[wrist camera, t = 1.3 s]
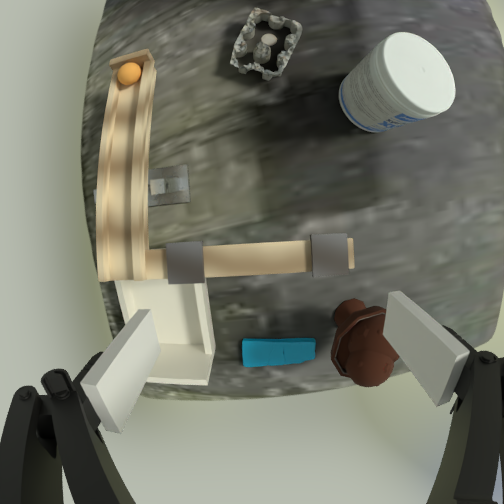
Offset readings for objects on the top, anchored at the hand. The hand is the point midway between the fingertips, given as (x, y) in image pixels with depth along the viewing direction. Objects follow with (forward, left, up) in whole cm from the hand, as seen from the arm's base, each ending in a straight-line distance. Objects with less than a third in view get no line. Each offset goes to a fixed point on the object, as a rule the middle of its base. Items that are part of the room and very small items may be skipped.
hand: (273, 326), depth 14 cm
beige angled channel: (-11, -4, -17) cm, 21 cm away
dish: (+9, -15, -24) cm, 30 cm away
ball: (-23, -15, -17) cm, 32 cm away
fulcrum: (-8, -15, -24) cm, 29 cm away
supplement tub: (-19, +16, -24) cm, 35 cm away
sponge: (+19, +2, -25) cm, 31 cm away
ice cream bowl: (+13, +13, -24) cm, 31 cm away
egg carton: (-27, +2, -24) cm, 36 cm away
